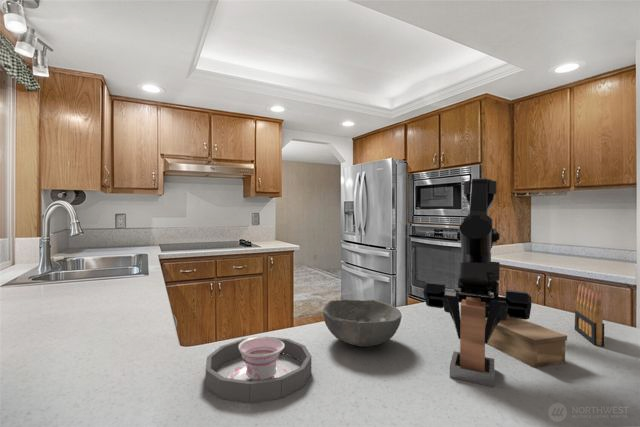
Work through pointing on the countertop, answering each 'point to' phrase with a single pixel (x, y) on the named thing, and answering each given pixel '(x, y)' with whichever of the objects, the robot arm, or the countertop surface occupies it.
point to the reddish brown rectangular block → (472, 334)
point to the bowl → (361, 321)
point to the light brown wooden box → (528, 349)
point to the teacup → (260, 359)
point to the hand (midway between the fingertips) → (472, 340)
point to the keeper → (473, 371)
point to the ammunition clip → (589, 316)
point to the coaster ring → (259, 388)
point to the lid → (529, 331)
